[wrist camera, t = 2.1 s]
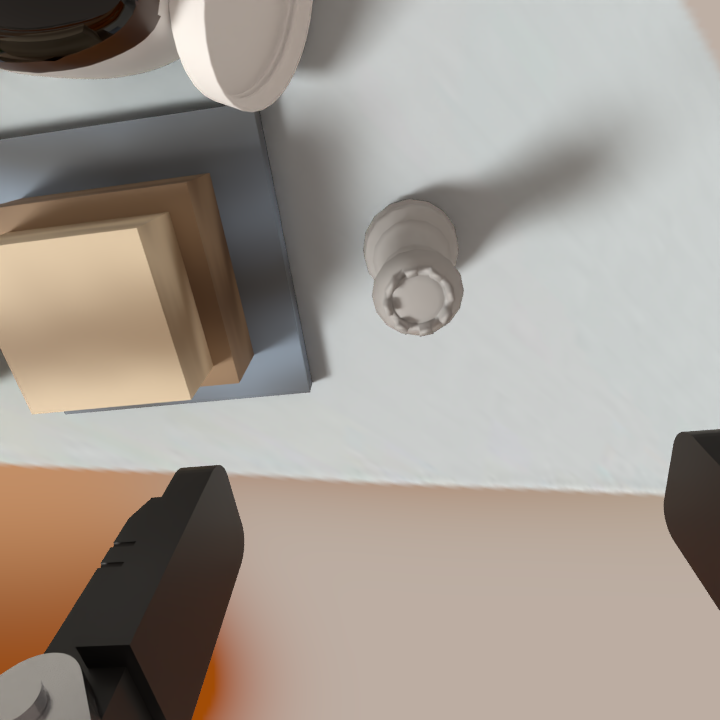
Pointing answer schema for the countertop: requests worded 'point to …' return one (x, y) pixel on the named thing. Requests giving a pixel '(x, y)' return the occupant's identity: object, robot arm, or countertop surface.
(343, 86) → the countertop surface
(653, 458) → the countertop surface
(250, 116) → the block tower
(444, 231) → the rook chess piece
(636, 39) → the countertop surface
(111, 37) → the spread jar
